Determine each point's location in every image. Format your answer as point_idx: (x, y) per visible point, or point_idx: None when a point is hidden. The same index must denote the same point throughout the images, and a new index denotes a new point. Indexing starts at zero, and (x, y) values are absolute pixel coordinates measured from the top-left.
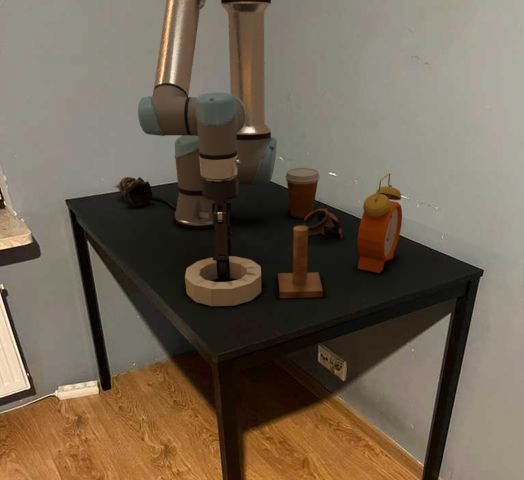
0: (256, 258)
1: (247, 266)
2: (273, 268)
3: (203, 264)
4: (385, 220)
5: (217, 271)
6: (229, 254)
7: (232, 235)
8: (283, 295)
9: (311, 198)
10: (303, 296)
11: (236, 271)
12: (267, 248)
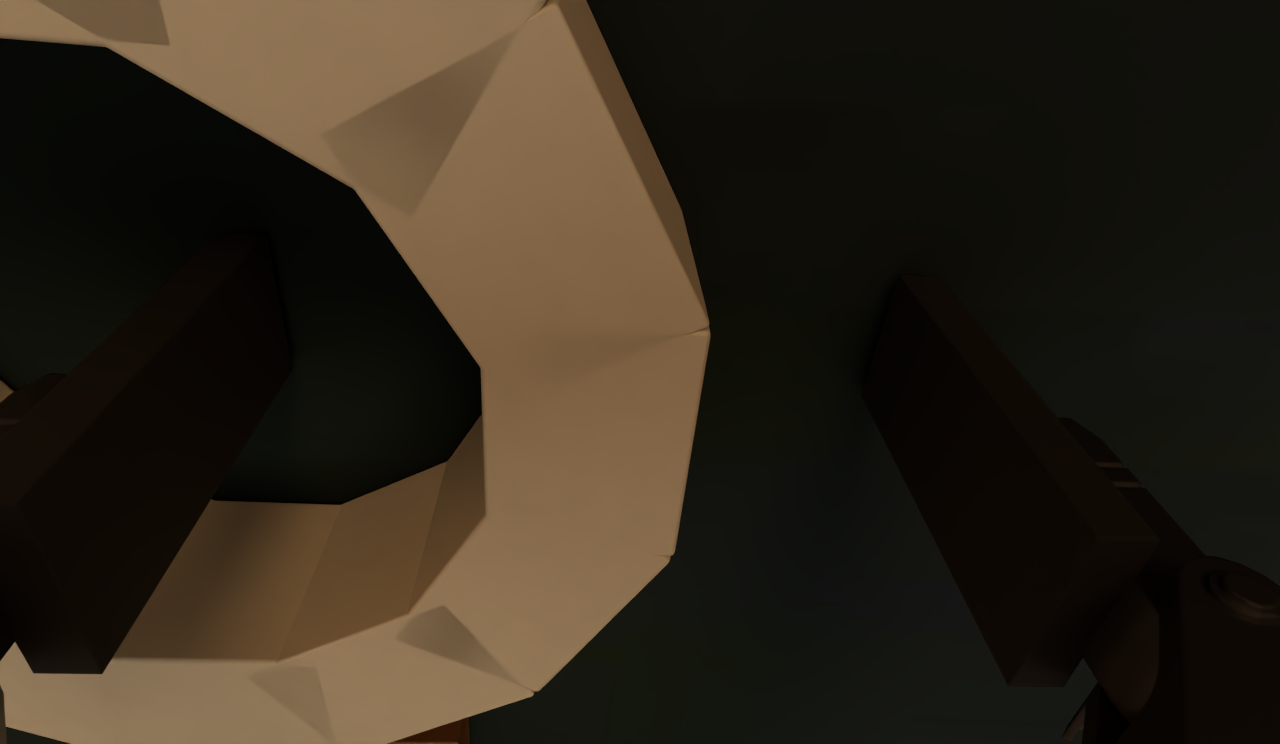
0: (938, 584)
1: (333, 668)
2: (686, 675)
3: (362, 120)
4: None
5: (96, 354)
6: (909, 458)
7: (1068, 725)
8: None
9: None
10: None
11: (457, 488)
12: None
